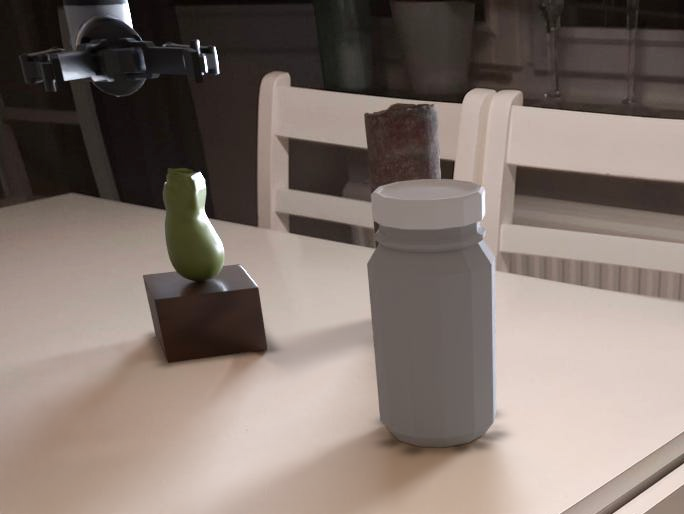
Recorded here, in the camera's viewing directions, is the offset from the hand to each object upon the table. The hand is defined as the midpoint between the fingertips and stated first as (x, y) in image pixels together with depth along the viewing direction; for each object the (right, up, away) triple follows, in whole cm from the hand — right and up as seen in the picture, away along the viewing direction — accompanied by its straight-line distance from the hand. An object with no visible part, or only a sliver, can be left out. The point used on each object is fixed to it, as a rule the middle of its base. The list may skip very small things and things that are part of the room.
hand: (129, 71), depth 102 cm
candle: (+28, -22, +8) cm, 37 cm away
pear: (+8, -22, -1) cm, 23 cm away
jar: (+32, -42, -17) cm, 55 cm away
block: (+8, -27, +3) cm, 28 cm away
